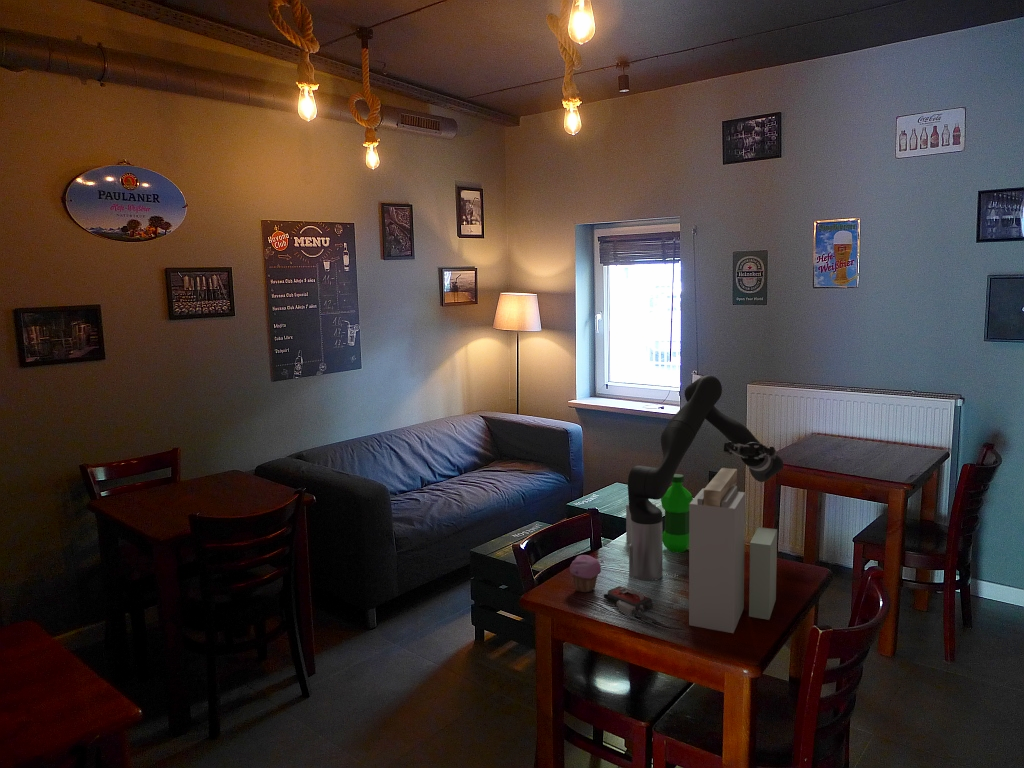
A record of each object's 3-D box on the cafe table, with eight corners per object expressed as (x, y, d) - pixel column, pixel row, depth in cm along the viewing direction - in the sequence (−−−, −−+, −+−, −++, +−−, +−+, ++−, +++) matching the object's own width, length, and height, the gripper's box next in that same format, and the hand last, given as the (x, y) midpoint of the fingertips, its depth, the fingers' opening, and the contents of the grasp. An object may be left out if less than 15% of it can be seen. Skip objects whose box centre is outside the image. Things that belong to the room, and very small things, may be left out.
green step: (749, 616, 187) (750, 542, 184) (756, 596, 199) (757, 527, 196) (769, 619, 185) (770, 545, 182) (775, 599, 196) (777, 529, 194)
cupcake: (579, 581, 213) (578, 548, 211) (606, 587, 208) (605, 554, 207) (565, 592, 205) (564, 558, 204) (592, 598, 201) (592, 564, 199)
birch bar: (703, 505, 177) (703, 489, 177) (721, 481, 198) (721, 467, 197) (720, 507, 176) (720, 491, 175) (736, 483, 196) (736, 469, 195)
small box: (638, 546, 239) (638, 509, 238) (625, 541, 244) (625, 504, 243) (656, 541, 244) (656, 504, 242) (643, 536, 249) (643, 500, 247)
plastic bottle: (698, 548, 236) (699, 474, 232) (681, 558, 228) (682, 481, 225) (672, 542, 243) (672, 469, 239) (654, 550, 235) (654, 476, 232)
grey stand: (689, 625, 183) (689, 497, 179) (702, 601, 196) (702, 482, 192) (733, 633, 178) (734, 502, 174) (743, 608, 192) (745, 486, 187)
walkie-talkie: (597, 602, 199) (653, 628, 183) (597, 587, 198) (653, 611, 183) (619, 593, 204) (675, 617, 189) (619, 579, 204) (675, 601, 188)
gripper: (733, 443, 224) (721, 431, 211) (781, 446, 217) (771, 435, 204) (731, 466, 223) (718, 456, 209) (779, 471, 216) (769, 461, 202)
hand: (744, 445), depth 207 cm, fingers open, 8 cm apart
